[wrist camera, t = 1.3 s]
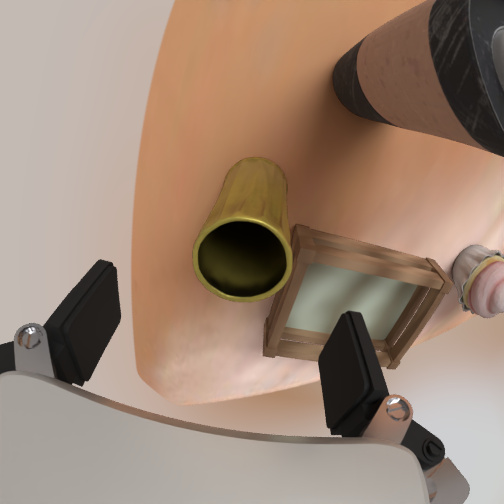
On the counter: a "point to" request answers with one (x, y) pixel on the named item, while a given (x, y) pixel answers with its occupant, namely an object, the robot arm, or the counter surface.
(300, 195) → the counter surface
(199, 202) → the counter surface
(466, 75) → the travel mug
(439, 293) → the tray
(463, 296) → the cupcake
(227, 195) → the vase
